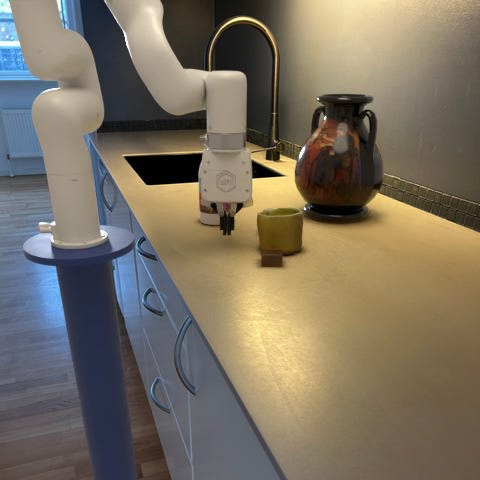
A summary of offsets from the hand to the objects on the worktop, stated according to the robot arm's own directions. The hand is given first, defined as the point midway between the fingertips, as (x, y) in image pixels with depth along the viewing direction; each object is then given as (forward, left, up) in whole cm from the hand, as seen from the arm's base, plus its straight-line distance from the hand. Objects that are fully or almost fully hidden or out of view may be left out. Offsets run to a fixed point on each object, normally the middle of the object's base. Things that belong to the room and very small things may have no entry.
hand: (227, 233), depth 107 cm
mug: (+11, 0, -3) cm, 11 cm away
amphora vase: (+26, +25, -3) cm, 36 cm away
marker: (+9, -10, -3) cm, 14 cm away
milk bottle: (-4, +19, -3) cm, 20 cm away
